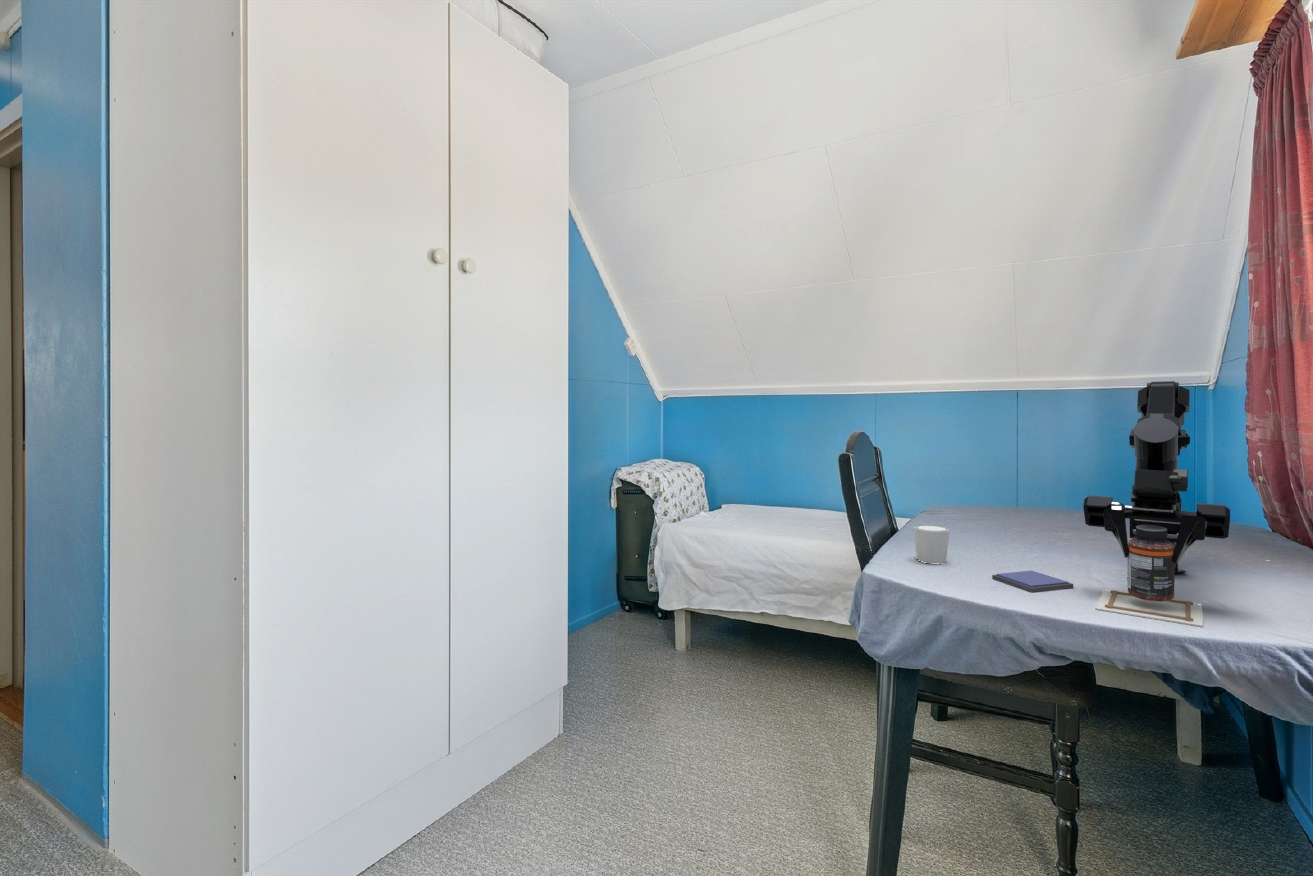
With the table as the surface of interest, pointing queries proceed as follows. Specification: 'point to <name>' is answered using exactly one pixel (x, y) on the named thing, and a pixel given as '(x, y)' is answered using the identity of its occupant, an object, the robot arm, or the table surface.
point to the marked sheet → (1151, 608)
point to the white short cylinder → (931, 543)
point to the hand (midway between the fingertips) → (1150, 559)
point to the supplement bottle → (1151, 564)
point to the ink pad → (1032, 581)
